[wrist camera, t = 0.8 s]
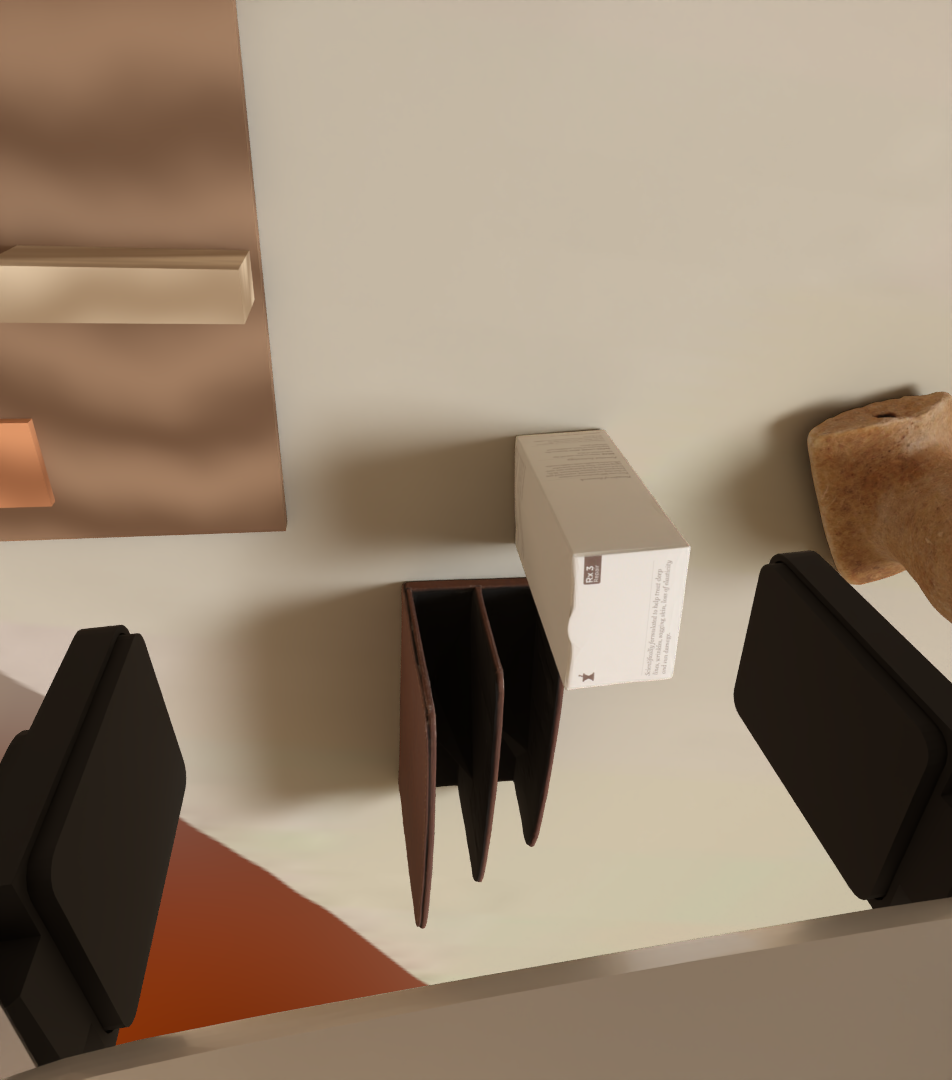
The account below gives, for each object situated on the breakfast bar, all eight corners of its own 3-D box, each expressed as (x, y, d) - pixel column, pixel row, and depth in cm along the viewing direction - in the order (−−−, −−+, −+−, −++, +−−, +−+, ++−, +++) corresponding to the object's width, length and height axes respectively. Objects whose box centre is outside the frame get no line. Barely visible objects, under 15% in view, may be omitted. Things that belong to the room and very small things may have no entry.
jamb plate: (-277, -157, 28) (-406, -207, 23) (224, -110, 30) (202, -146, 26) (-29, 531, 43) (-75, 587, 38) (287, 521, 46) (280, 572, 41)
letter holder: (397, 779, 60) (411, 950, 48) (400, 578, 50) (418, 733, 38) (517, 770, 62) (558, 933, 50) (544, 573, 51) (604, 721, 40)
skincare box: (595, 535, 50) (679, 685, 38) (508, 544, 49) (564, 700, 37) (604, 420, 46) (702, 547, 33) (508, 428, 45) (572, 561, 33)
